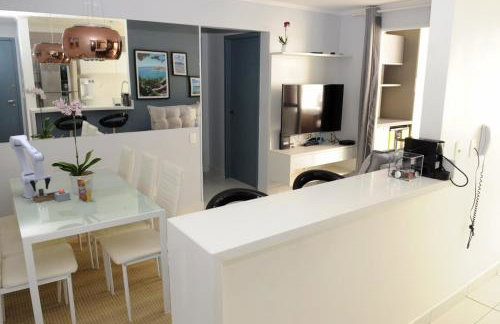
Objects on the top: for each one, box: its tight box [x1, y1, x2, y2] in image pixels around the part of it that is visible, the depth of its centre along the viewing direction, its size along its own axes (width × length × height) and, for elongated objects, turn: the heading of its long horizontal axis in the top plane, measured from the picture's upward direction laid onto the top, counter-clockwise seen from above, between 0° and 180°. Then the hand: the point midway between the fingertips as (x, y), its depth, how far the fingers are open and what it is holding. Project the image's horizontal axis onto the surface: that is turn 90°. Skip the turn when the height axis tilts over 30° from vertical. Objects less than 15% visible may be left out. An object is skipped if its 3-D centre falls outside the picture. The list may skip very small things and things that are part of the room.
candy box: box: [76, 177, 93, 203], centre depth 269 cm, size 9×4×15 cm, turn 61°
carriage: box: [36, 188, 48, 198], centre depth 268 cm, size 5×6×6 cm
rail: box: [32, 190, 59, 204], centre depth 273 cm, size 8×19×3 cm, turn 135°
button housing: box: [54, 190, 71, 203], centre depth 270 cm, size 6×8×5 cm
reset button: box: [58, 188, 65, 194], centre depth 270 cm, size 3×3×4 cm
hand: (41, 190), depth 268 cm, fingers open, 7 cm apart
